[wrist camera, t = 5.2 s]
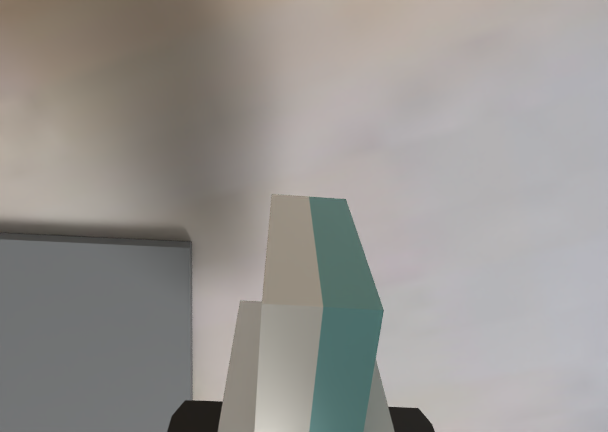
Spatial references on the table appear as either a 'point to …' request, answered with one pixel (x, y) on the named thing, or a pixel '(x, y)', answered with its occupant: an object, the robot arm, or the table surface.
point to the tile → (315, 320)
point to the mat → (93, 333)
